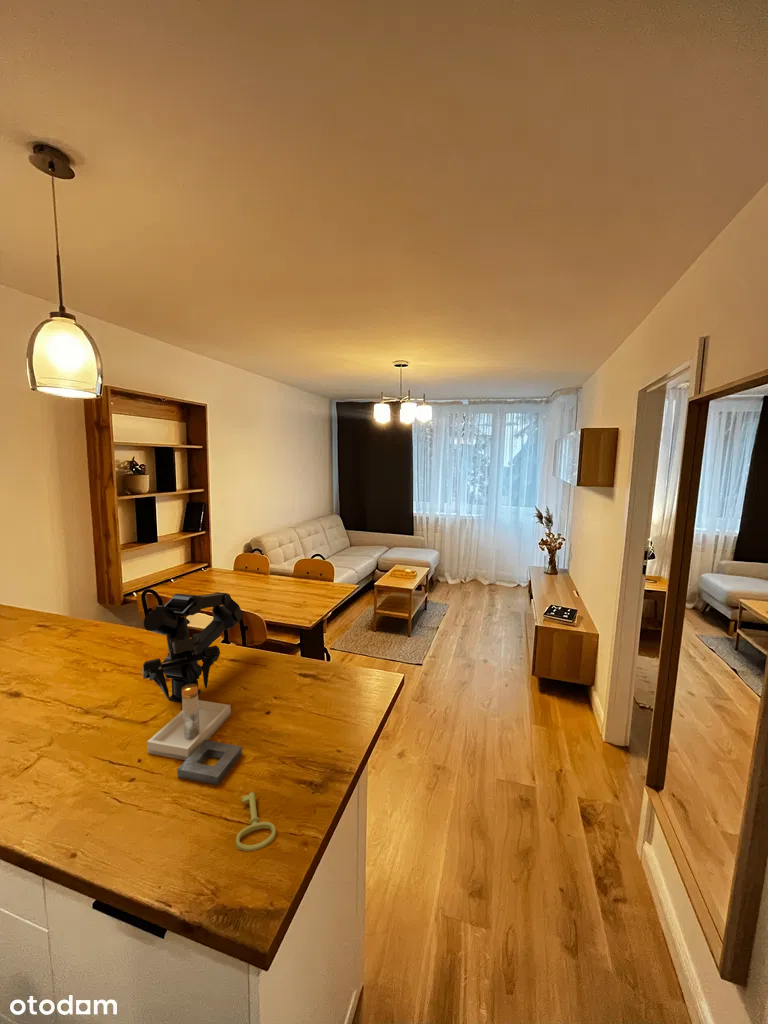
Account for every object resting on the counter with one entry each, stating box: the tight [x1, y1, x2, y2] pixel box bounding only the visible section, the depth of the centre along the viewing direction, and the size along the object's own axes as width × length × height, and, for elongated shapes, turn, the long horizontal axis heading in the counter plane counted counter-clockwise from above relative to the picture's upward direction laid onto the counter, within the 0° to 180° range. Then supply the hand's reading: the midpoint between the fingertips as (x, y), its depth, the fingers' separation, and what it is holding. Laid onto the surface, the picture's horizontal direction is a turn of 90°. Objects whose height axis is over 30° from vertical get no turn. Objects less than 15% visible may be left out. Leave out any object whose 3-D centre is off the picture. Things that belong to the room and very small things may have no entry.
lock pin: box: [181, 684, 200, 740], centre depth 105 cm, size 4×4×13 cm
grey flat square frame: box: [176, 739, 243, 786], centre depth 98 cm, size 10×10×2 cm
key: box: [235, 791, 277, 852], centre depth 82 cm, size 7×12×2 cm, turn 40°
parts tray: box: [146, 699, 232, 761], centre depth 109 cm, size 11×18×3 cm, turn 168°
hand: (187, 692), depth 111 cm, fingers open, 9 cm apart
